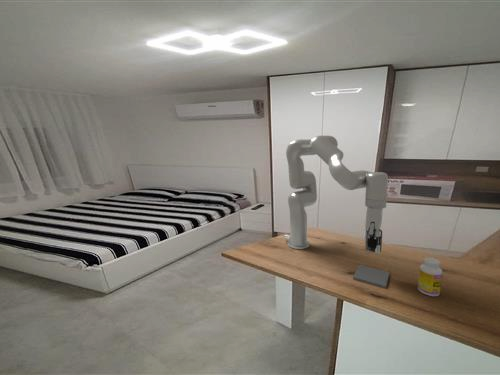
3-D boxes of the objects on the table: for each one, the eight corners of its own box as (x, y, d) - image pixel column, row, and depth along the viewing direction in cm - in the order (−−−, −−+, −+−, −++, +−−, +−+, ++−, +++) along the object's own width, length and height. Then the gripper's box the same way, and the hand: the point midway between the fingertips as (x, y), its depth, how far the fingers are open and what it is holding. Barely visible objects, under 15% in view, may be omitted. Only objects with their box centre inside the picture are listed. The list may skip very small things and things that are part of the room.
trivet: (353, 279, 97) (353, 277, 97) (359, 266, 106) (359, 264, 106) (385, 288, 90) (385, 286, 90) (389, 274, 99) (389, 272, 99)
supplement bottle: (432, 299, 83) (436, 266, 81) (413, 289, 89) (416, 258, 87) (443, 294, 85) (447, 262, 83) (424, 284, 91) (427, 254, 89)
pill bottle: (383, 253, 92) (385, 226, 91) (367, 252, 94) (368, 226, 92) (378, 247, 98) (379, 222, 96) (363, 246, 99) (364, 221, 98)
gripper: (369, 197, 102) (367, 236, 105) (361, 206, 88) (359, 250, 91) (388, 199, 97) (386, 239, 100) (383, 208, 84) (380, 254, 87)
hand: (373, 244), depth 96 cm, fingers closed on pill bottle, 6 cm apart
